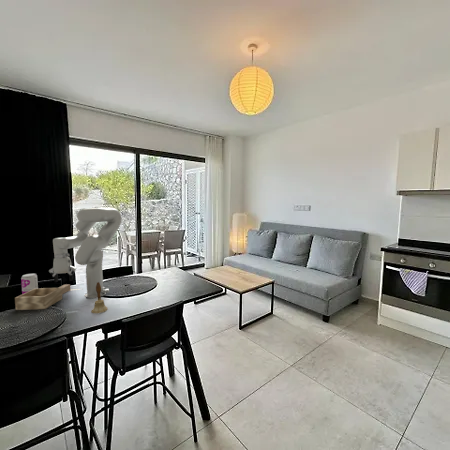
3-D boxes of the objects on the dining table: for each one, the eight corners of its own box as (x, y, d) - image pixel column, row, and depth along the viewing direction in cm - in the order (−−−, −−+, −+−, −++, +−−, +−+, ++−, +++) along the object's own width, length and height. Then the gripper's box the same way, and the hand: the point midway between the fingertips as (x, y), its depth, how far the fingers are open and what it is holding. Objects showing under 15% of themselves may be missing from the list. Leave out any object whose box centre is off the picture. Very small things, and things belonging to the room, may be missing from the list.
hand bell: (110, 310, 139) (108, 282, 138) (94, 315, 133) (92, 285, 132) (104, 306, 145) (103, 279, 144) (89, 310, 139) (87, 282, 138)
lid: (82, 290, 178) (82, 282, 178) (69, 298, 161) (68, 290, 161) (58, 291, 177) (57, 283, 177) (41, 299, 160) (41, 291, 160)
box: (62, 300, 157) (61, 287, 156) (45, 310, 141) (44, 296, 140) (35, 301, 156) (35, 288, 155) (15, 311, 140) (14, 297, 139)
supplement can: (29, 300, 158) (28, 276, 157) (19, 299, 159) (17, 276, 158) (41, 295, 165) (40, 273, 165) (31, 295, 167) (29, 273, 166)
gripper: (77, 254, 172) (80, 278, 173) (51, 256, 171) (54, 280, 172) (71, 256, 164) (74, 281, 165) (44, 258, 163) (47, 283, 164)
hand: (63, 281), depth 168 cm, fingers open, 9 cm apart
